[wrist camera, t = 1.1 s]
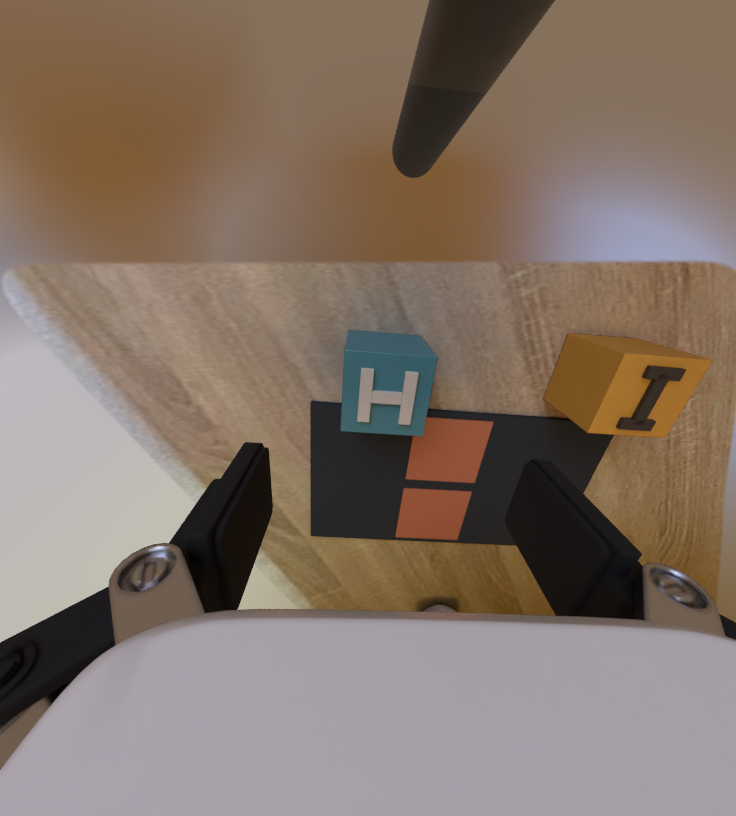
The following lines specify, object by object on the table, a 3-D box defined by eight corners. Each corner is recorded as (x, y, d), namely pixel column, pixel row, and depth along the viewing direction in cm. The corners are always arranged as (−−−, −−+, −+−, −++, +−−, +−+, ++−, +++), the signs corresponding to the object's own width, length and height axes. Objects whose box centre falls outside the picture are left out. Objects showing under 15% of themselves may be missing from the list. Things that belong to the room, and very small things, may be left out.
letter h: (348, 329, 20) (343, 351, 15) (421, 335, 20) (439, 358, 16) (344, 397, 22) (340, 434, 18) (410, 401, 23) (423, 439, 18)
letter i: (568, 332, 20) (630, 354, 16) (637, 338, 21) (719, 361, 16) (543, 399, 23) (590, 435, 18) (605, 403, 23) (669, 441, 18)
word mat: (311, 400, 22) (310, 403, 22) (615, 421, 24) (620, 424, 23) (311, 532, 29) (310, 536, 28) (552, 543, 30) (555, 548, 29)
